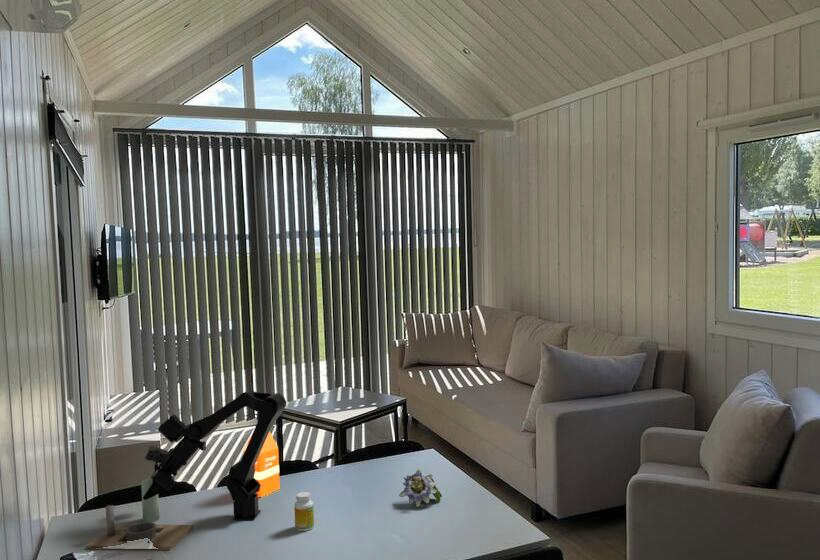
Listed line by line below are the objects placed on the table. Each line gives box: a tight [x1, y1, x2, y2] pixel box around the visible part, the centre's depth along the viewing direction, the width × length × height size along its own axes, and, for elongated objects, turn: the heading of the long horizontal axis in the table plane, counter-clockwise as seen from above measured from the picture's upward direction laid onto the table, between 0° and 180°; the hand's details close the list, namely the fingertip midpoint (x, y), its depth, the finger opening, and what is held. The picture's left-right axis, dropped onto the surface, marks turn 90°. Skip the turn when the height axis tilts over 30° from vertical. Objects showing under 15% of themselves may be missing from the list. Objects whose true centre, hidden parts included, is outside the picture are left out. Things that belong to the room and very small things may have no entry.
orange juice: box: [242, 430, 281, 498], centre depth 212 cm, size 8×9×20 cm
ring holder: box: [85, 504, 194, 551], centre depth 178 cm, size 24×14×9 cm, turn 85°
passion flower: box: [399, 469, 443, 508], centre depth 199 cm, size 11×11×12 cm
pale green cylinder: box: [140, 477, 160, 523], centre depth 191 cm, size 5×5×12 cm
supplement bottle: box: [293, 491, 315, 532], centre depth 182 cm, size 5×5×10 cm
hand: (144, 493), depth 191 cm, fingers open, 9 cm apart
